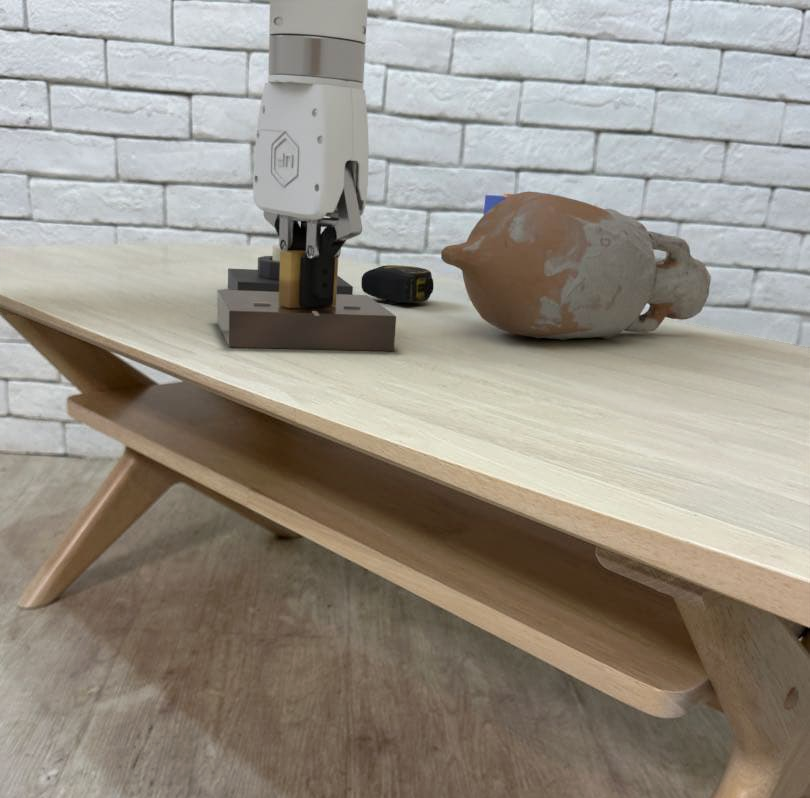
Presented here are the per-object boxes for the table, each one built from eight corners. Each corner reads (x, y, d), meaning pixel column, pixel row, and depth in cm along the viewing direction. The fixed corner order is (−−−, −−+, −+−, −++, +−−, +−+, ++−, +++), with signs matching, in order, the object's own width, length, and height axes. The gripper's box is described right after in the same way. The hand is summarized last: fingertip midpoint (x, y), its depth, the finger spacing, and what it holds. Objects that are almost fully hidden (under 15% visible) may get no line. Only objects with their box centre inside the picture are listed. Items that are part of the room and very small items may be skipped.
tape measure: (356, 300, 110) (358, 265, 108) (397, 296, 115) (399, 263, 113) (404, 310, 106) (406, 274, 105) (443, 305, 111) (446, 271, 110)
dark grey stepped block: (237, 303, 102) (237, 263, 100) (227, 288, 111) (228, 251, 109) (351, 307, 105) (354, 268, 104) (333, 292, 114) (335, 256, 112)
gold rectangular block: (289, 308, 83) (291, 250, 81) (278, 305, 84) (279, 247, 82) (336, 305, 86) (339, 249, 85) (324, 302, 87) (327, 246, 86)
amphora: (405, 188, 91) (668, 146, 101) (407, 350, 100) (647, 295, 111) (481, 235, 81) (764, 182, 91) (475, 409, 90) (732, 343, 101)
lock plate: (230, 350, 81) (230, 311, 79) (217, 322, 91) (217, 287, 90) (397, 354, 84) (399, 316, 83) (365, 327, 95) (367, 293, 94)
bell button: (274, 265, 104) (275, 247, 104) (270, 260, 108) (270, 244, 107) (308, 266, 105) (309, 249, 105) (303, 262, 109) (303, 245, 108)
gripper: (221, 61, 81) (219, 291, 88) (342, 62, 71) (329, 322, 78) (295, 71, 86) (288, 288, 93) (419, 73, 76) (401, 317, 82)
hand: (307, 302), depth 85 cm, fingers closed on gold rectangular block
